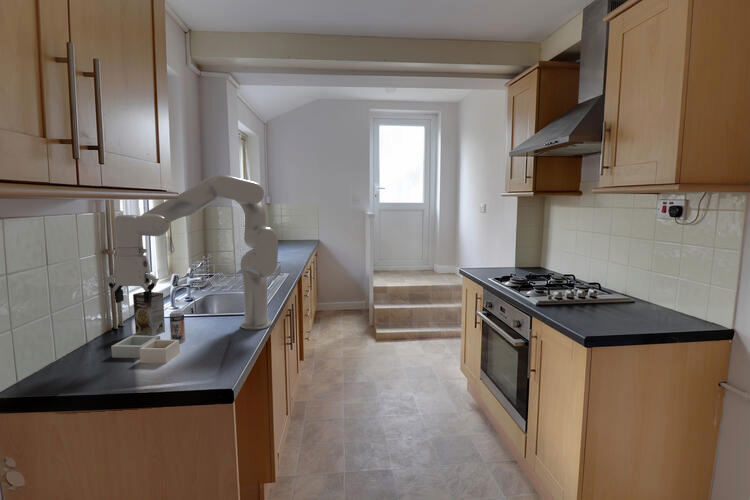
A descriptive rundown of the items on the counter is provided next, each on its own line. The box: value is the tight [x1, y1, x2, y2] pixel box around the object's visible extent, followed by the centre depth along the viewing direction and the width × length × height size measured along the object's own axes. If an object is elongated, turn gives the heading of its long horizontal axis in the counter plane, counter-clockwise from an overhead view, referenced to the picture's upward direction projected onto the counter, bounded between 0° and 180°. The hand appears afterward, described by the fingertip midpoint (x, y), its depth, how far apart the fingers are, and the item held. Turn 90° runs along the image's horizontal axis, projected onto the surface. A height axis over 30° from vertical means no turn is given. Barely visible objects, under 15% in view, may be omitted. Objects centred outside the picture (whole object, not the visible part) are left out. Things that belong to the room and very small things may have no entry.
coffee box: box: [132, 291, 166, 336], centre depth 154 cm, size 9×6×16 cm
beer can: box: [169, 310, 186, 345], centre depth 143 cm, size 5×5×12 cm
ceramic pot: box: [139, 339, 181, 364], centre depth 129 cm, size 8×8×6 cm
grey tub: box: [110, 334, 161, 359], centre depth 134 cm, size 10×10×5 cm
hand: (133, 302), depth 132 cm, fingers open, 9 cm apart
